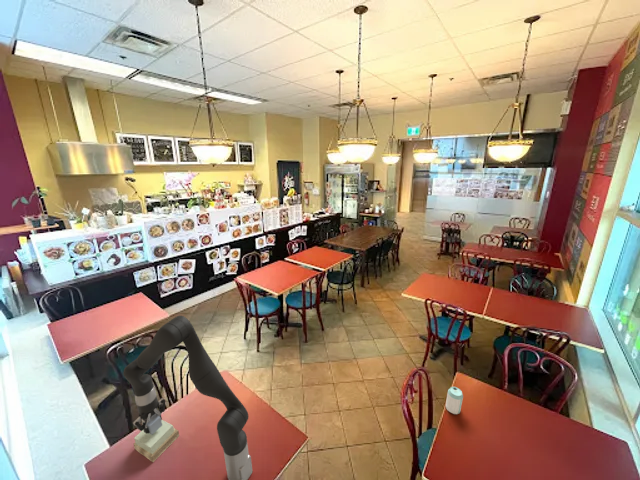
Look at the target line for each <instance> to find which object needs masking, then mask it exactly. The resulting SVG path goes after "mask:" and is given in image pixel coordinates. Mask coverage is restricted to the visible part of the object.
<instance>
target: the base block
mask: <svg viewBox="0 0 640 480" xmlns="http://www.w3.org/2000/svg"><path fill="white" fill-rule="evenodd" d="M173 428H174V433H173V434H172V435H171V436H170V437H169V438H168V439H167V440H166V441H165V442H164V443H163V444H162V445H161V446H160V447H159V448H158V449H157V450H156V451H155V452H154V453H153V454H151V453H149V452H148V451H146V450H144V449H143V448H141V447H139V446H138V445H136V443H135V442H134V443H133V447H134V450H135V451H137V452H138V453H139V454H141V455H142V456H144V457H145V458H146V459H148V460H149V461H150V462H152V463H154V462H155V461H156V460H157V459H158V458H159V457H160V456H161V455H162V454H163V453H164V452H165V451H166V450H167V449H168V448H169V447H170V446H171V445H172V444H173V443H174V442H175V441H176V440H177V439H178V438H179V437H180V432H179V430H178V429H176V428H175V427H173Z"/></svg>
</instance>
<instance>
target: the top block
mask: <svg viewBox="0 0 640 480" xmlns="http://www.w3.org/2000/svg"><path fill="white" fill-rule="evenodd" d="M161 421H162V426H161V427H160V428H159V429H158V430H157V431H156V432H155V433H153V434H152V435H151V434H150V433H147V434H146V433H145V432H144V430H142V431H140V432H138V433H137V435H136V436H134V438H133V439H134V443H136V445H138V446H139V447H141V448H143V449H144V450H146V451H148V452H149V453H151V454H153V453H154V452H155V451H156V450H157V449H158V448H159V447H160V446H161V445H162V444H163V443H164V442H165V441H166V440H167V439H168V438H169V437H170V436H171V435H172V434H173V433H174V428H175V427H174V425H172V424H171V423H169V422H167V421H166V420H164V419H162V420H161Z"/></svg>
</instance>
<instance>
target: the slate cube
mask: <svg viewBox="0 0 640 480" xmlns="http://www.w3.org/2000/svg"><path fill="white" fill-rule="evenodd" d="M161 417H162V416H161ZM161 417H160V416H158V415H156V414H154V415H153V416H152V417H151V418H150V420H149V423H148V428H149V432H150V434H151V435H152V434H153V433H155V432H156V431H157V430H158V429H159V428H160V427H161V426H162V421H161Z"/></svg>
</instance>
